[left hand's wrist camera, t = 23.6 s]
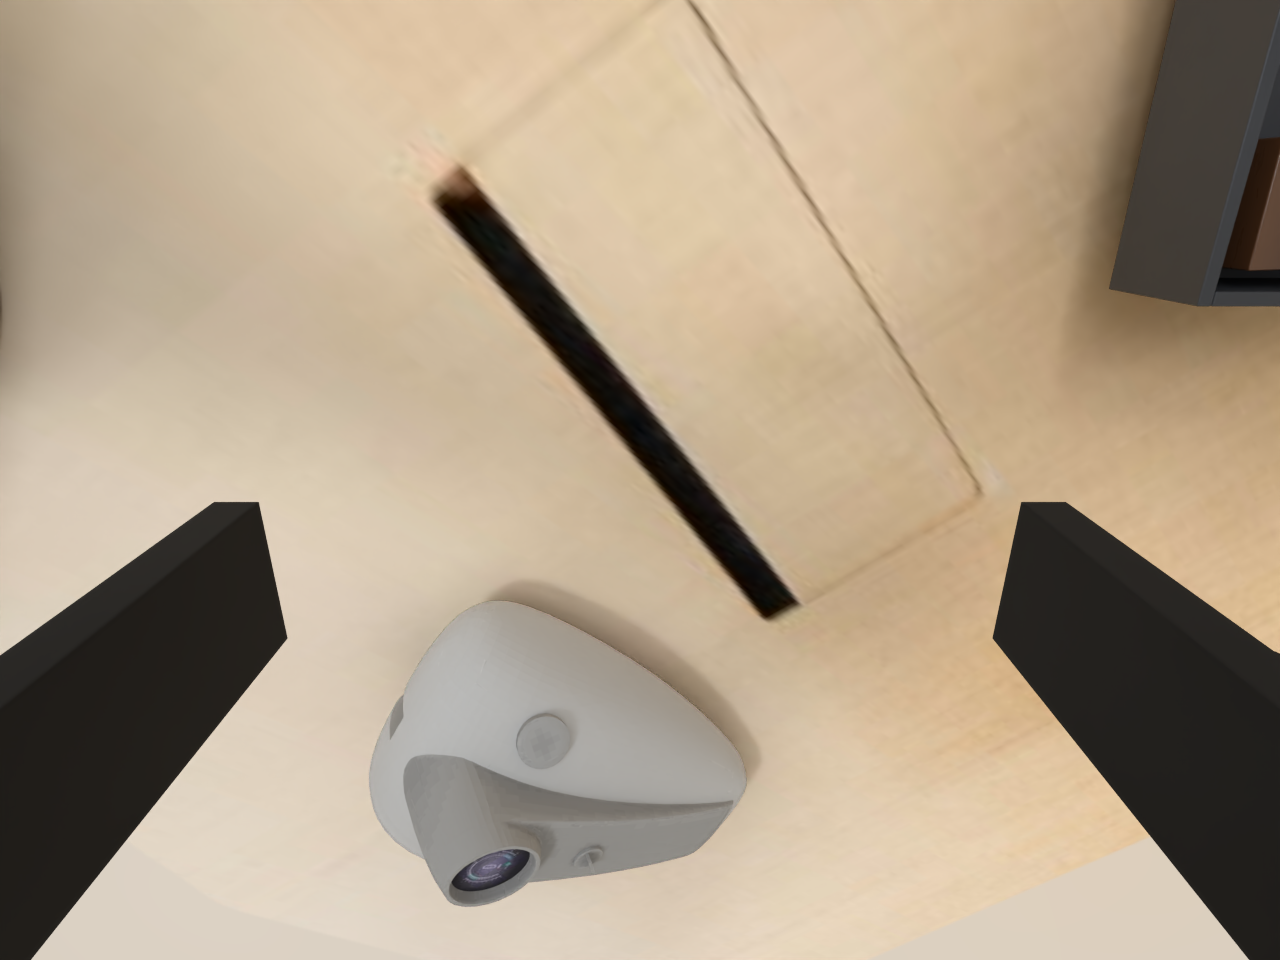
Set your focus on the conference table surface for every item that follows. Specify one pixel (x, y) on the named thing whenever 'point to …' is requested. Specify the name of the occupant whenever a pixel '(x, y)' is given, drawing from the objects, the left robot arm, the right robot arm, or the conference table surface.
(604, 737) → the projector
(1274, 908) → the left robot arm
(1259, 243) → the walnut block
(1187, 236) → the tote
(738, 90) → the conference table surface
